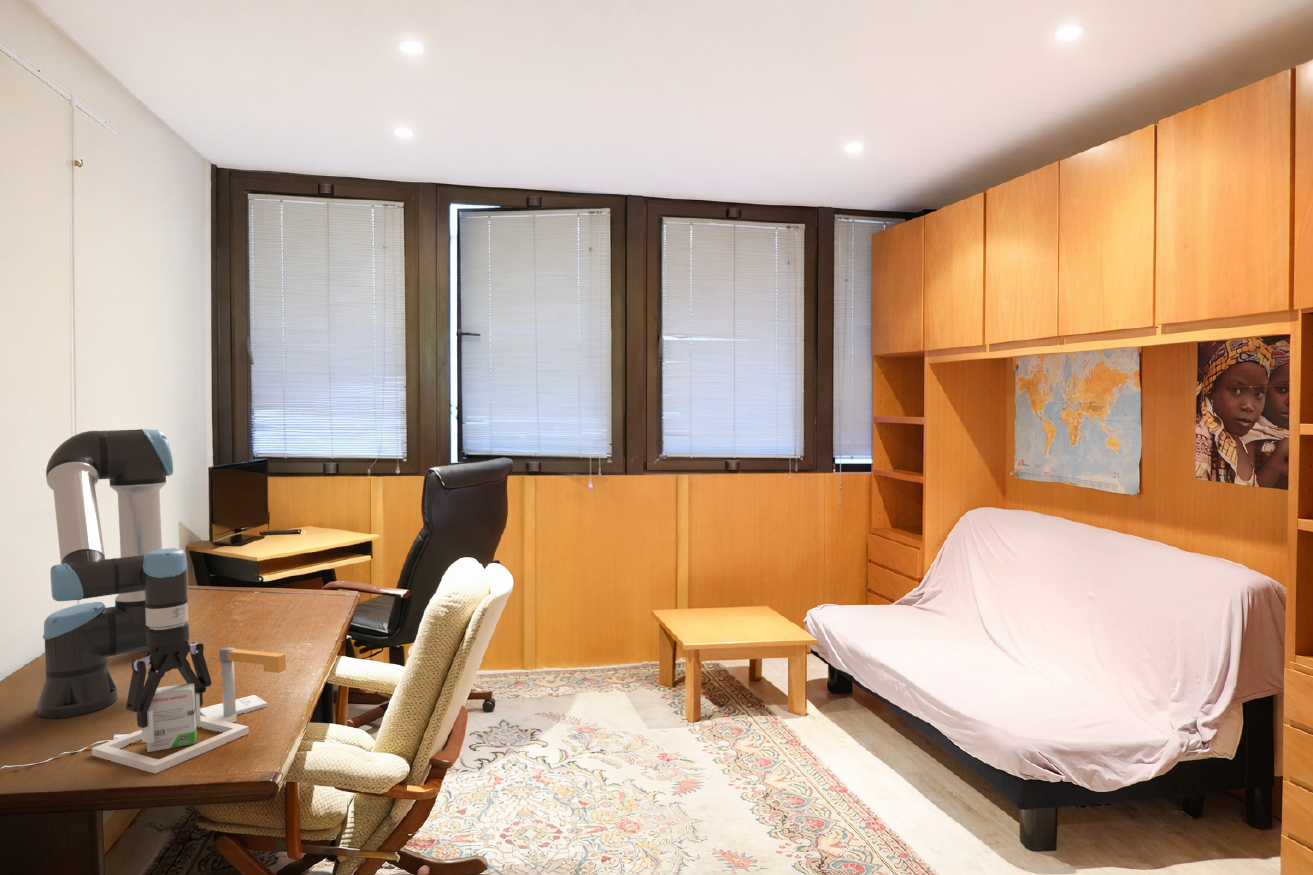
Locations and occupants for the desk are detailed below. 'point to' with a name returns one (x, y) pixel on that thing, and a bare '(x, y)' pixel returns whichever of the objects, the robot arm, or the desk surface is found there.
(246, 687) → the desk surface
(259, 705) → the external hard drive
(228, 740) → the socket frame
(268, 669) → the orange bar
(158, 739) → the ink box
